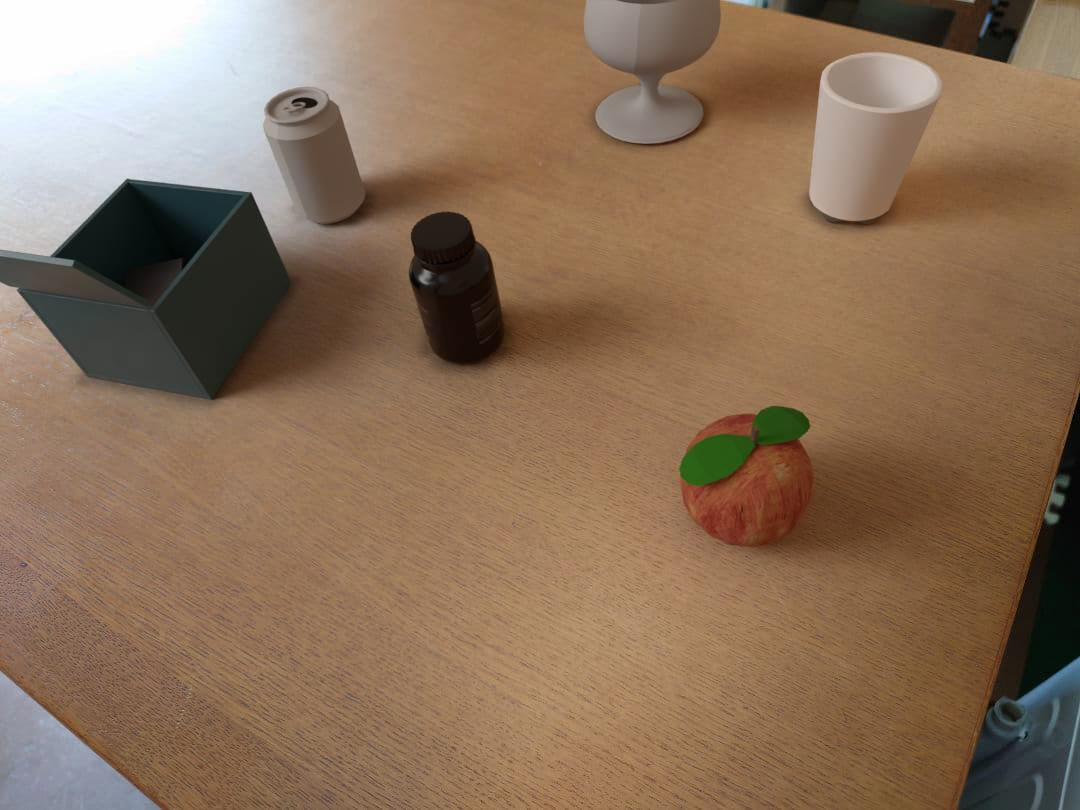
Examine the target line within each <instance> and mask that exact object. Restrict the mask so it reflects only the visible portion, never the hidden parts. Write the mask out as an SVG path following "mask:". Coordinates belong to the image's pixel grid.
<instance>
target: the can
mask: <svg viewBox="0 0 1080 810" xmlns="http://www.w3.org/2000/svg"><path fill="white" fill-rule="evenodd" d="M340 109H341V108H340V106H339V105H338V104H337V103H336V102H335V101H333V100H332V99H330V96H329V94H328V92H326V91H325V90H323V89H321V88H318V87H315V86H314V87H312V86H299V87H295V88H290V89H287V90H284V91H281V92H279V93H277V94H276V95H274V96H273V97H271V98H270V99H269V101H268V102H266V104H265V106H264V108H263V112H264V116H265V119H264V121H263V123H262V128H263V132H264V134H265V137H266V140H267V142H268V145H269V148H270V150H271V152H272V155H273V157H274V160H275V162H276V165H277V167H278V170H279V172H280V175H281V178H282V179H283V182H284V184H285V188H286V190H287V193H288V195H289V198H290V201H291V203H292V205H293V207H294V209H295V212H296V213H297V214H298V216H300V218H302V219H305V220H307V221H310V222H314V223H315V224H321V225H327V224H334V223H338V222H342V221H344V220H346V219H348V218H350V217H352V216H353V215H354V214H355V213H356V212H357V210H358V209H359V208H360V207H361V205H362V204H363V203H364V201H365V197H366V190H365V188H364V184H363V181H362V178H361V174H360V170H359V167H358V165H357V162H356V159H355V155H354V152H353V148H352V145H351V142H350V138H349V135H348V132H347V129H346V126H345V122H344V119H343V117H342V113H341V110H340Z"/></svg>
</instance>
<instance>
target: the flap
mask: <svg viewBox="0 0 1080 810" xmlns="http://www.w3.org/2000/svg"><path fill="white" fill-rule="evenodd" d="M0 283H1V284H3V285H5V286H8V287H11V288H16V289H18V288H23V289H29V290H36V291H42V292H49V293H55V294H62V295H68V296H75V297H81V298H88V299H94V300H101V301H107V302H114V303H120V304H127V305H133V306H140V307H146V308H148V305H149V301H147V300H145V299H144V298H142V297H140V296H138V295H137V294H135V293H133V292H131V291H129V290H128V289H126V288H124V287H122V286H120V285H119V284H117V283H115V282H113V281H111V280H110V279H108V278H106V277H104V276H102V275H101V274H99V273H97V272H95V271H94V270H92V269H90V268H88V267H86V266H85V265H83V264H81V263H79V262H77V261H76V260H70V259H63V258H56V257H50V255H49V256H48V255H42V254H33V253H27V252H20V251H12V250H5V249H0Z"/></svg>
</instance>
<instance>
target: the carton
mask: <svg viewBox="0 0 1080 810" xmlns="http://www.w3.org/2000/svg"><path fill="white" fill-rule="evenodd" d="M256 201H257V200H256V199H255V197H254V194H253V192H252V191H243V190H234V189H225V188H215V187H207V186H198V185H197V186H196V185H188V184H180V183H179V184H178V183H169V182H160V181H150V180H140V179H133V178H131V179H130V178H126V179H125V180H124V181H123V182H122V183H121V184H120V185H119V186H118V187H117V188H116V189H114V191H113V192H112V193H111V194H110V195H109V196H108V197H107V198H106V199H105V200H104V201H103V202H102V203H101V204H100V205H99V206H98V207H97V208H95V210H94V211H93V212H92V213H91V214H90V215H89V216H88V217H87V218H86V219H85V220H84V221H83V222H82V223H81V224H80V225H79V227H77V228H76V229H75V230H74V231H73V232H72V234H71V235H69V236H68V237H67V238H66V240H65V241H64V242H63V243H61V244H60V246H58V248H57V249H55V250H54V252H53V253H52V254H50V255H49V257H56V258H63V259H70V260H76V261H77V262H79V263H81V264H83V265H85V266H86V267H88V268H90V269H92V270H94V271H95V272H97V273H99V274H101V275H102V276H104V277H106V278H108V279H110V280H111V281H113V282H115V283H117V284H119V285H120V286H122V287H124V288H125V282H126V275H127V270H131V269H135V268H139V267H144V266H148V265H153V264H157V263H162V262H166V261H171V260H175V259H180V258H183V259H184V261H185V263H186V267H185V268H184V269H183V270H182V271H181V273H180V274H179V275H178V276H177V277H176V279H175V280H174V281H173V282H172V284H171V285H170V286H169V287H168V288H167V290H166V291H165V292H164V293H163V295H162V296H161V297H160V298H159V299H158V301H157V302H156V303H155V304H154V305H153V307H152V306H148V308H146V307H140V306H133V305H127V304H120V303H114V302H107V301H101V300H94V299H88V298H81V297H75V296H68V295H62V294H55V293H49V292H42V291H36V290H29V289H23V288H16V292H17V293H18V294H19V296H20V297H21V298H22V300H24V301H25V303H26V304H27V306H29V307H30V309H31V310H32V311H33V312H34V314H35V315H36V316H37V317H38V318H39V320H40V321H41V322H42V324H43V325H44V326H45V327H46V329H47V330H48V331H49V332H50V333H51V334H52V336H53V337H54V339H56V341H57V342H58V343H59V344H60V346H61V347H62V348H63V349H64V350H65V352H66V353H67V354H68V355H69V356H70V358H71V359H72V360H73V362H74V363H75V364H76V365H77V366H78V368H79V369H80V370H81V371H82V372H83V373H84V375H85V376H86V377H87V378H92V379H96V380H102V381H107V382H114V383H118V384H119V383H120V384H124V385H130V386H134V387H141V388H145V389H151V390H155V391H161V392H167V393H173V394H179V395H184V396H188V397H189V396H190V397H195V398H201V399H206V400H213V398H214V397H215V396H216V394H217V393H218V392H219V390H220V388H221V387H222V386H223V384H224V382H225V381H226V380H227V378H228V377H229V375H230V374H231V372H232V371H233V369H234V368H235V366H236V365H237V363H239V361H240V359H241V358H242V357H243V355H244V353H245V352H246V351H247V349H248V348H249V347H250V345H251V343H252V341H253V340H254V339H255V337H256V336H257V334H258V333H259V332H260V330H261V329H262V327H263V325H264V324H265V323H266V321H267V320H268V318H269V317H270V316H271V314H272V312H273V311H274V310H275V308H276V307H277V306H278V304H279V303H280V301H281V299H282V298H283V297H284V295H285V293H286V292H287V291H288V289H289V288H290V287H291V285H292V280H291V278H290V275H289V273H288V271H287V269H286V267H285V265H284V262H283V260H282V258H281V256H280V253H279V251H278V249H277V247H276V244H275V242H274V239H273V236H272V235H271V233H270V230H269V228H268V226H267V224H266V221H265V219H264V217H263V215H262V213H261V210H260V208H259V206H258V204H257V202H256Z"/></svg>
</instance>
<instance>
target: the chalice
mask: <svg viewBox="0 0 1080 810" xmlns="http://www.w3.org/2000/svg"><path fill="white" fill-rule="evenodd" d="M721 13H722V11H721V1H720V0H586V3H585V7H584V12H583V32H584V39H585V41H586V43H587V46H588V47H589V49H590V51H591V53H592V54H593V55H594V57H596V58H597V59H598V60H599V61H600V62H601V63H603V64H605V65H606V66H609V67H610V68H612V69H614V70H616V71H620V72H621V73H625V74H630V75H633V76H635V77H636V78H637V80H638V82H639V83H640V84H639V85H633V86H629V87H625V88H622V89H619V90H617V91H615V92H613V93H611V94H610V95H608V96H607V97H605V98H604V99H603V100H602V101H601V102H600V104H599V105H598V106H597V108H596V111H595V121H596V123H597V127H599V128H600V129H601V130H602V132H604V133H605V134H607V135H609V136H610V137H612V138H615V139H617V140H620V141H622V142H627V143H633V144H645V145H646V144H647V145H648V144H661V143H665V142H671V141H675V140H676V139H679V138H682V137H685V136H686V135H688V134H690V133H692V132H693V131H694V130H695V129H696V128H697V127H699V125H700V124H701V122H702V120H703V118H704V108H703V104H702V103H701V102H700V101H699V99H698V98H697V97H695V96H694V95H692V94H691V93H689V92H688V91H686V90H684V89H682V88H679V87H676V86H672V85H666V84H660V82H661V80H662V78H663V77H664V76H665V75H667V74H670V73H673V72H677V71H680V70H682V69H684V68H686V67H688V66H690V65H692V64H693V63H695V62H697V61H699V60H700V59H701V58H702V57H704V56H705V55H706V53H707V52H708V51H709V50H710V49H711V47H712V46H713V44H714V43H715V41H716V39H717V37H718V36H719V32H720V26H721V18H722V17H721V16H722V14H721Z"/></svg>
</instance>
